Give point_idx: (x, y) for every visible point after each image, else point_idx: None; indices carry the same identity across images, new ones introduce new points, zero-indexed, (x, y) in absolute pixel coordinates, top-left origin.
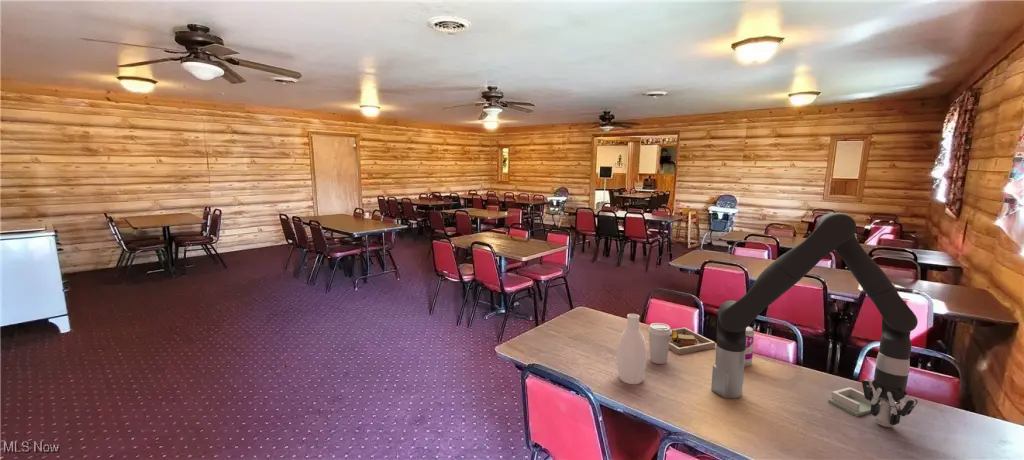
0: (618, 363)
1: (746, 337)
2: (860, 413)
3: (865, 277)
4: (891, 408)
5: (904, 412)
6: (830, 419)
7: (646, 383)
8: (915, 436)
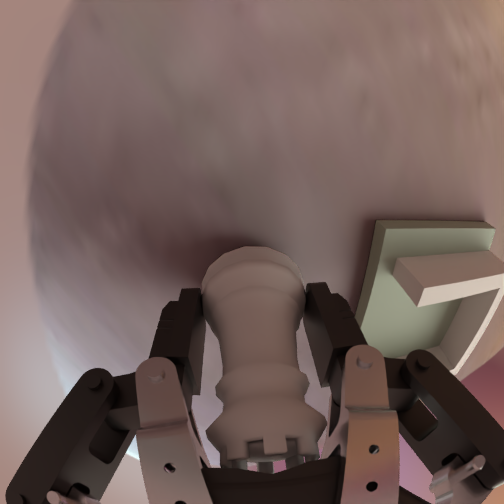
0: None
1: None
2: (377, 258)
3: None
4: (223, 404)
5: (75, 404)
6: (416, 31)
7: None
8: (129, 320)
